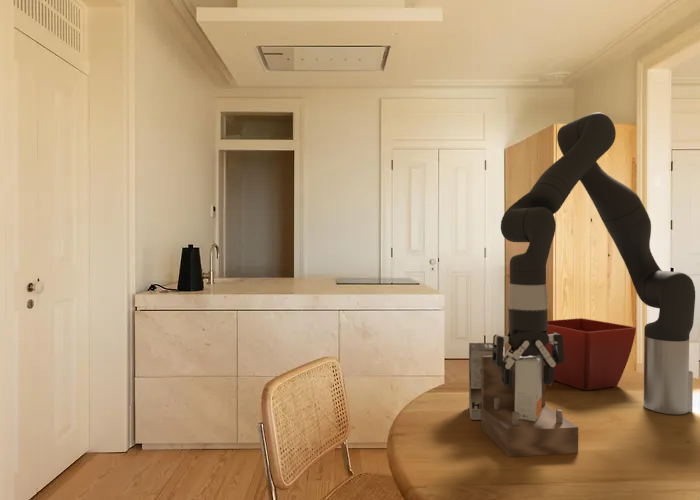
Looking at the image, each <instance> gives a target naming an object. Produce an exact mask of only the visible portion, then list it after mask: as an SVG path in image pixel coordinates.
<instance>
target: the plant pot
mask: <svg viewBox="0 0 700 500" xmlns="http://www.w3.org/2000/svg"><path fill="white" fill-rule="evenodd" d="M636 331H637V327H635V326H630V325H624V324H619V323H613V322H608V321H607V322H606V321H601V320H595V319H588V318H582V317H581V318H580V317H579V318H565V319H555V320H554V319H553V320H548V328H547V334H552V333H553V332H555V333H558V334H560V335H562V337H563V352H564V362H563V363H562V364H560V363H559V364H557V365H555V367H554V381H555V382H558V383H562V384H565V385H566V386H571V387H573V388H577V389H580V390H582V391H593V390H599V389H605V388H606V389H607V388H611V387H612V388H613V387H617V386H618V385H619V382H620V381H621V379H622V377H623V374H624V372H625V370H626V366H627V364H628V361H629V358H630V356H631V352H632V350H633V349H632V348H633V347H634V346H633V345H634V341H635V337H636ZM545 348H546V350H547V351H548V352H549V354H550V355H551V357H552V344H551V343H550V342H549V341H548V343H547V344H546V346H545Z"/></svg>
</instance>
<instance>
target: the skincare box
mask: <svg viewBox="0 0 700 500" xmlns="http://www.w3.org/2000/svg"><path fill="white" fill-rule="evenodd" d="M541 399H542V358H541V357H540V356H527V357H522V356H520V357H519V359H518V360H517V361H515V411H516V412H519V419H523V420H528V421H534V422H535V421H536V420H537V418H538V417H539V415H540V414H541Z"/></svg>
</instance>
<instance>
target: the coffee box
mask: <svg viewBox="0 0 700 500" xmlns="http://www.w3.org/2000/svg"><path fill="white" fill-rule="evenodd" d="M492 352H493V342H469V343H468V408H469V418H470V420H475V421H481V356H490V355H492Z"/></svg>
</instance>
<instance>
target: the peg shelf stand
mask: <svg viewBox="0 0 700 500" xmlns="http://www.w3.org/2000/svg"><path fill="white" fill-rule="evenodd" d="M505 355H506V354H503V358H504V357H505ZM537 356H538V355H537ZM544 365H545V363H544V362H543V360H542V399H541V414H540V415H539V417H538V418H537V420H536V421H535V422H534V421H528V420H523V419H519V412H516V411H515V362H514V364H513V365H512V366H511V368H510V369H512V387H507V386H505V384H504V383H503V382H502V368H501V366H497V365H496V364H494V363H493V362H492V355H490V356H481V420H480V429H481V431H482V432H483V433H484V434H486V435H487V437H489V439H490V440H491V441H492V442H493V443H494V444H495V445H496V446H497V447H498V448H500V450H501V451H502V452H503V453H504V455H506V456H507V457H510V458H511V457H528V456H545V455H546V456H547V455H564V454H565V455H566V454H578V453H579V426H577V425H575V424H574V423H573V422H571V421H570V420H568V419H567V418H566V417H564V415H563V413H564V412H563V410H562V409H556V410H555V411H554V410H553V409H551V408H550V407H548V406H547V405H546V384H545V383H544Z"/></svg>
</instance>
